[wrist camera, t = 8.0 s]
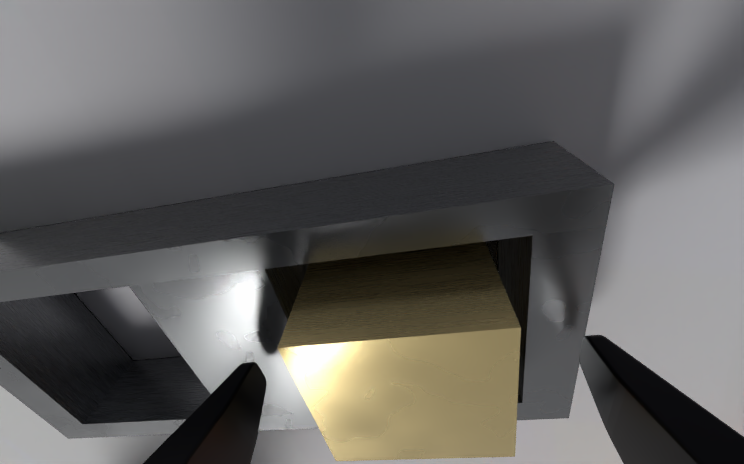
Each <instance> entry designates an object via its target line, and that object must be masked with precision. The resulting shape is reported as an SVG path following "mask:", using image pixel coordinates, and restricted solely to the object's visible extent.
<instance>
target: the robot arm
mask: <svg viewBox="0 0 744 464" xmlns="http://www.w3.org/2000/svg"><path fill="white" fill-rule="evenodd" d="M579 361H580V365H581V368H582V370H583V373H584V375H585V378H586V380H587V383H588V386H589V388H590V391H591V393H592V396H593V398H594V401H595V403H596V406H597V408H598V411H599V413H600V416H601V418H602V421H603V423H604V426H605V428H606V430H607V432H608V434H609V436H610V438H611V440H612V442H613V444H614V446H615V448H616V450H617V452H618V454H619V456H620V458H621V460H622V461H623V463H624V464H744V437H743V436H742V435H740V434H739V433H738V432H736V431H735V430H733V429H732V428H731V427H729V426H728V425H727V424H725V423H724V422H722V421H721V420H720V419H718V418H717V417H715V416H714V415H713V414H711V413H710V412H708V411H707V410H706V409H704V408H703V407H702V406H700V405H699V404H697V403H696V402H695V401H693V400H692V399H690V398H689V397H688V396H686V395H685V394H684V393H682V392H681V391H679V390H678V389H677V388H675V387H674V386H672V385H671V384H670V383H668V382H667V381H666V380H664V379H663V378H661V377H660V376H659V375H657V374H656V373H654V372H653V371H652V370H650V369H649V368H647V367H646V366H645V365H643V364H642V363H641V362H639V361H638V360H636V359H635V358H634V357H632V356H631V355H629V354H628V353H627V352H625V351H624V350H623V349H621V348H620V347H618V346H617V345H616V344H614V343H613V342H611V341H610V340H609V339H607V338H606V337H604V336H602V335H590V336H585V337H584V338H583V339H582V344H581V349H580V355H579ZM266 386H267V382H266V378H265V376H264V374H263V372H262V371H261V369H260V367H259V366H258V364H257V363H256V362H245V363H242V364H240V365H239V366H238V367H237V368H236V369H235V370H234V371H233V372H232V373H231V374H230V375H229V376H228V377H227V378H226V379H225V380H224V381H223V382H222V384H221V385H220V386H219V387H218V388H217V389H216V390H215V391H214V392H213V393H212V394H211V395H210V396H209V397H208V398H207V399H206V400H205V401H204V402H203V403H202V404H201V405H200V406H199V407H198V408H197V409H196V410H195V411H194V412H193V413H192V414H191V415H190V416H189V417H188V418H187V419H186V420H185V421H184V422H183V423H182V424H181V425H180V426H179V428H178V429H177V430H176V431H175V432H174V433H173V434H172V435H171V436H170V437H169V438H168V439H167V440H166V441H165V442H164V443H163V444H162V445H161V446H160V447H159V448H158V449H157V450H156V451H155V452H154V453H153V454H152V455H151V456H150V457H149V458H148V459H147V460H146V461H145V462H144V463H143V464H250V462H251V458H252V455H253V451H254V448H255V444H256V440H257V435H258V430H259V425H260V419H261V414H262V408H263V403H264V397H265V392H266Z"/></svg>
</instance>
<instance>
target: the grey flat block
mask: <svg viewBox="0 0 744 464" xmlns="http://www.w3.org/2000/svg"><path fill="white" fill-rule="evenodd" d="M613 188H614V184H613V183H612V182H610V181H609V180H608V179H606V178H605V177H603V176H602V175H601V174H599V173H598V172H596V171H595V170H593V169H592V168H591V167H589V166H588V165H586V164H585V163H584V162H582V161H581V160H579V159H578V158H577V157H575V156H574V155H572V154H571V153H570V152H568V151H567V150H565V149H564V148H562V147H561V146H560V145H558V144H557V143H555V142H554V141H552V142H546V143H540V144H534V145H528V146H522V147H516V148H510V149H504V150H498V151H492V152H486V153H480V154H474V155H468V156H462V157H456V158H450V159H444V160H438V161H432V162H426V163H420V164H414V165H408V166H402V167H395V168H389V169H383V170H377V171H371V172H365V173H359V174H353V175H347V176H341V177H335V178H329V179H323V180H317V181H311V182H305V183H299V184H293V185H287V186H281V187H275V188H269V189H263V190H257V191H251V192H245V193H239V194H233V195H227V196H221V197H215V198H209V199H203V200H197V201H191V202H185V203H179V204H173V205H167V206H161V207H155V208H149V209H143V210H137V211H131V212H125V213H119V214H113V215H107V216H101V217H95V218H89V219H83V220H77V221H71V222H65V223H59V224H53V225H47V226H41V227H35V228H29V229H23V230H17V231H11V232H5V233H0V385H1V386H2V387H3V388H5V389H6V390H7V391H8V392H10V393H11V394H12V395H13V396H15V397H16V398H17V399H19V400H20V401H21V402H22V403H24V404H25V405H26V406H27V407H29V408H30V409H31V410H33V411H34V412H35V413H36V414H38V415H39V416H40V417H41V418H43V419H44V420H45V421H47V422H48V423H49V424H50V425H52V426H53V427H54V428H55V429H57V430H58V431H59V432H61V433H62V434H63V435H64V436H66V437H67V438H93V437H117V436H142V435H166V434H173V433H174V432H175V431H176V430H177V429H178V428H179V426H180V425H181V424H182V423H183V422H184V421H185V420H186V419H187V418H188V417H189V416H190V415H191V414H192V413H193V412H194V411H195V410H196V409H197V408H198V407H199V406H200V405H201V404H202V403H203V402H204V401H205V400H206V399H207V398H208V397H209V396H210V395H211V394H212V393H213V392H214V391H215V390H216V389H217V388H218V387H219V386H220V385H221V384H222V382H223V381H224V380H225V379H226V378H227V377H228V376H229V375H230V374H231V373H232V372H233V371H234V370H235V369H236V368H237V367H238V366H239V365H240V364H242V363H245V362H256V363H257V364H258V366H259V367H260V369H261V371H262V372H263V374H264V376H265V378H266V382H267V386H266V392H265V397H264V403H263V408H262V414H261V419H260V425H259V430H258V431H264V430H288V429H313V428H319V427H318V425H317V423H316V422H315V420H314V418H313V416H312V414H311V412H310V410H309V408H308V406H307V404H306V402H305V400H304V399H303V397H302V395H301V393H300V391H299V389H298V387H297V385H296V383H295V381H294V379H293V377H292V375H291V374H290V372H289V370H288V368H287V366H286V364H285V362H284V360H283V358H282V356H281V354H280V352H279V351H278V349H277V348H278V345H279V342H280V340H281V337H282V334H283V332H284V329H285V326H286V324H287V321H288V318H289V316H290V313H291V310H292V308H293V305H294V302H295V300H296V297H297V294H298V292H299V289H300V286H301V284H302V281H303V278H304V276H305V273H306V270H307V268H308V265H309V263H317V262H325V261H333V260H341V259H349V258H357V257H365V256H373V255H381V254H389V253H397V252H405V251H413V250H421V249H429V248H437V247H445V246H453V245H461V244H469V243H477V242H485V241H493V240H498V274H499V276H500V278H501V281H502V283H503V286H504V288H505V290H506V293H507V295H508V298H509V300H510V302H511V305H512V307H513V310H514V312H515V314H516V317H517V319H518V322H519V324H520V326H521V338H520V359H519V381H518V402H517V420H533V419H557V418H569V414H570V409H571V404H572V399H573V393H574V388H575V383H576V378H577V373H578V368H579V363H580V361H579V355H580V349H581V344H582V339H583V338H584V337H585V332H586V327H587V321H588V316H589V311H590V306H591V301H592V296H593V291H594V285H595V280H596V275H597V270H598V265H599V260H600V255H601V250H602V244H603V239H604V234H605V229H606V224H607V219H608V214H609V208H610V203H611V198H612V193H613ZM125 286H129V287H130V288H131V289H132V291H133V292H134V293H135V295H136V296H137V297H138V299H139V300H140V301H141V302H142V304H143V305H144V306H145V308H146V309H147V310H148V312H149V313H150V314H151V316H152V317H153V318H154V320H155V321H156V322H157V324H158V325H159V326H160V328H161V329H162V330H163V332H164V333H165V334H166V336H167V337H168V338H169V340H170V341H171V342H172V344H173V345H174V346H175V348H176V349H177V350H178V352H179V353H180V354H181V356H182V357H175V358H162V359H150V360H138V361H133V360H132V359H131V358H130V357H129V356H128V354H127V353H126V352H125V351H124V350H123V349H122V348H121V346H120V345H119V344H118V343H117V342H116V341H115V340H114V339H113V337H112V336H111V335H110V334H109V333H108V332H107V331H106V329H105V328H104V327H103V326H102V325H101V324H100V323H99V321H98V320H97V319H96V318H95V317H94V316H93V315H92V314H91V312H90V311H89V310H88V309H87V308H86V307H85V306H84V304H83V303H82V302H81V301H80V300H79V299H78V298H77V296H76V295H75V294H74V293H77V292H85V291H93V290H101V289H109V288H117V287H125Z"/></svg>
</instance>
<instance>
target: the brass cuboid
mask: <svg viewBox="0 0 744 464" xmlns="http://www.w3.org/2000/svg"><path fill="white" fill-rule="evenodd" d="M520 338H521V326H520V324H519V322H518V319H517V317H516V314H515V312H514V310H513V307H512V305H511V302H510V300H509V298H508V295H507V293H506V290H505V288H504V286H503V283H502V281H501V278H500V276H499V274H498V271H497V269H496V266H495V264H494V262H493V259H492V257H491V254H490V252H489V250H488V247H487V245H486V242H477V243H469V244H461V245H453V246H445V247H437V248H429V249H421V250H413V251H405V252H397V253H389V254H381V255H373V256H365V257H357V258H349V259H341V260H333V261H325V262H317V263H309V265H308V268H307V270H306V273H305V276H304V278H303V281H302V284H301V286H300V289H299V292H298V294H297V297H296V300H295V302H294V305H293V308H292V310H291V313H290V316H289V318H288V321H287V324H286V326H285V329H284V332H283V334H282V337H281V340H280V342H279V345H278V348H277V349H278V351H279V352H280V354H281V356H282V358H283V360H284V362H285V364H286V366H287V368H288V370H289V372H290V374H291V375H292V377H293V379H294V381H295V383H296V385H297V387H298V389H299V391H300V393H301V395H302V397H303V399H304V400H305V402H306V404H307V406H308V408H309V410H310V412H311V414H312V416H313V418H314V420H315V422H316V423H317V425H318V427H319V429H320V431H321V433H322V435H323V437H324V439H325V441H326V443H327V445H328V447H329V448H330V450H331V452H332V454H333V456H334V458H335V460H336V461H358V460H397V459H436V458H475V457H514V456H515V445H516V424H517V402H518V381H519V359H520Z"/></svg>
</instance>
